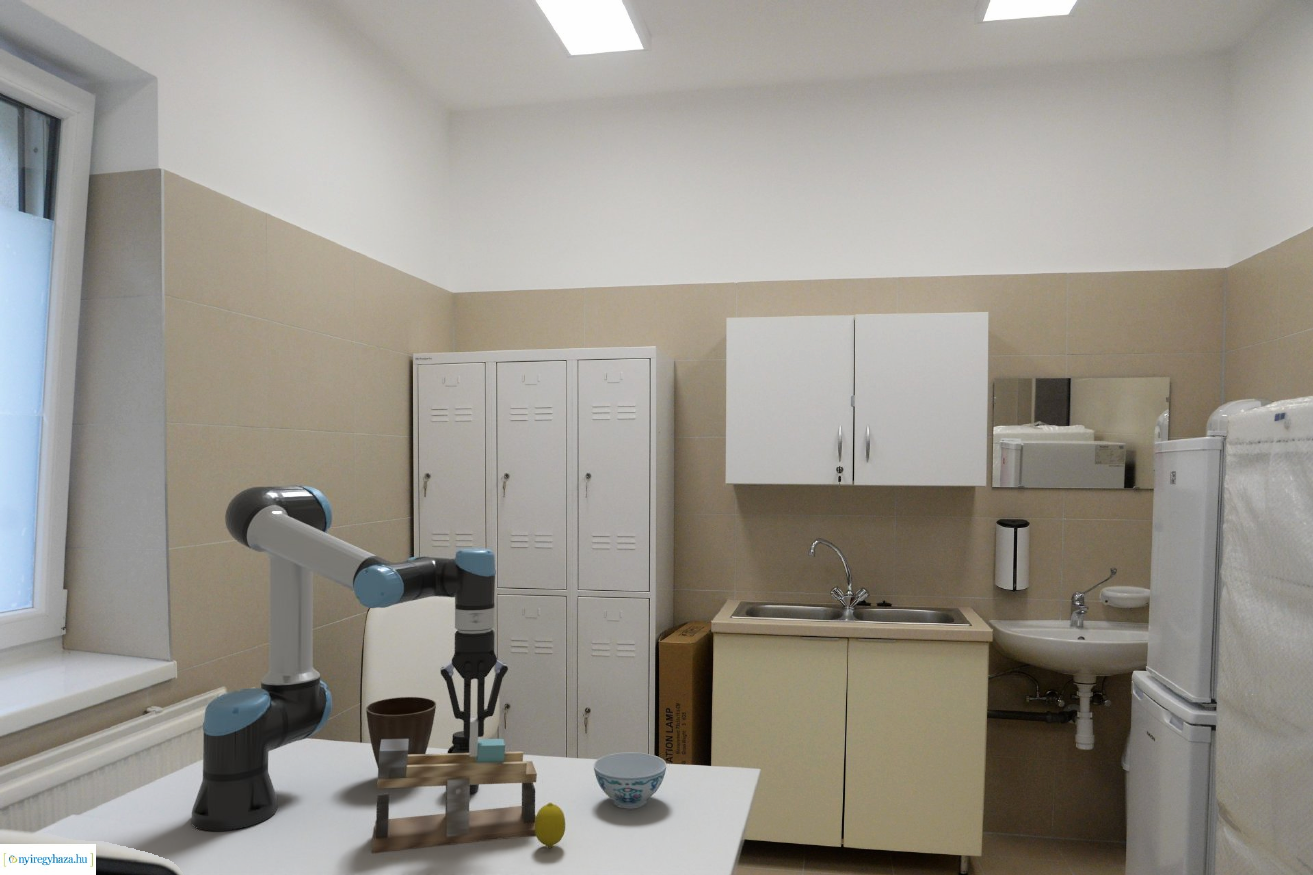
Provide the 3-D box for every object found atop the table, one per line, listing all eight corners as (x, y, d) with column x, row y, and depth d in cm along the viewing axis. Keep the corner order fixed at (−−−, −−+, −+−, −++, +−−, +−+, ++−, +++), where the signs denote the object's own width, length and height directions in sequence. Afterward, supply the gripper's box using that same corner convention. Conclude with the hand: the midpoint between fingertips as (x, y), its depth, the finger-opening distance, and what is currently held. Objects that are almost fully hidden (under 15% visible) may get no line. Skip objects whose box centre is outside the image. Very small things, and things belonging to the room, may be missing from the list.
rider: (476, 772, 162) (478, 745, 162) (475, 765, 166) (477, 739, 166) (503, 771, 163) (505, 745, 164) (501, 764, 167) (503, 738, 168)
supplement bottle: (471, 798, 178) (471, 739, 179) (440, 795, 180) (441, 737, 180) (484, 786, 185) (484, 729, 186) (454, 783, 187) (455, 727, 187)
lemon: (550, 838, 159) (550, 794, 160) (571, 846, 156) (571, 802, 156) (528, 848, 155) (528, 803, 155) (549, 857, 151) (549, 811, 152)
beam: (376, 788, 156) (379, 751, 156) (378, 774, 163) (381, 738, 163) (536, 782, 163) (538, 747, 164) (531, 769, 170) (533, 735, 171)
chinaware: (677, 795, 180) (677, 758, 181) (647, 821, 167) (647, 781, 167) (614, 784, 187) (614, 748, 187) (580, 808, 173) (580, 770, 173)
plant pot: (410, 761, 200) (411, 692, 201) (448, 777, 190) (449, 704, 191) (351, 779, 189) (352, 706, 189) (389, 796, 179) (390, 719, 180)
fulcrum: (371, 852, 153) (372, 790, 153) (375, 825, 165) (376, 767, 165) (540, 834, 161) (540, 774, 161) (532, 809, 172) (532, 754, 173)
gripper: (440, 635, 159) (438, 763, 159) (510, 631, 163) (509, 757, 162) (439, 627, 167) (438, 750, 166) (507, 624, 170) (506, 745, 169)
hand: (473, 753), depth 164 cm, fingers closed
